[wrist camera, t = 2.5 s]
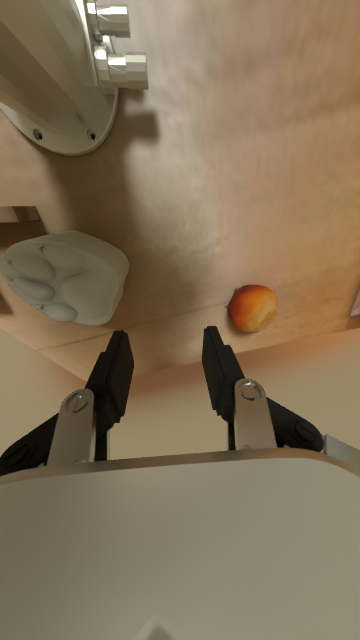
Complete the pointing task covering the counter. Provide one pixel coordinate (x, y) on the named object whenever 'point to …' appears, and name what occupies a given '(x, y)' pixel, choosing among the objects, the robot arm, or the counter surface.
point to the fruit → (253, 308)
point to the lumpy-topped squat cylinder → (67, 276)
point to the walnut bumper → (18, 214)
